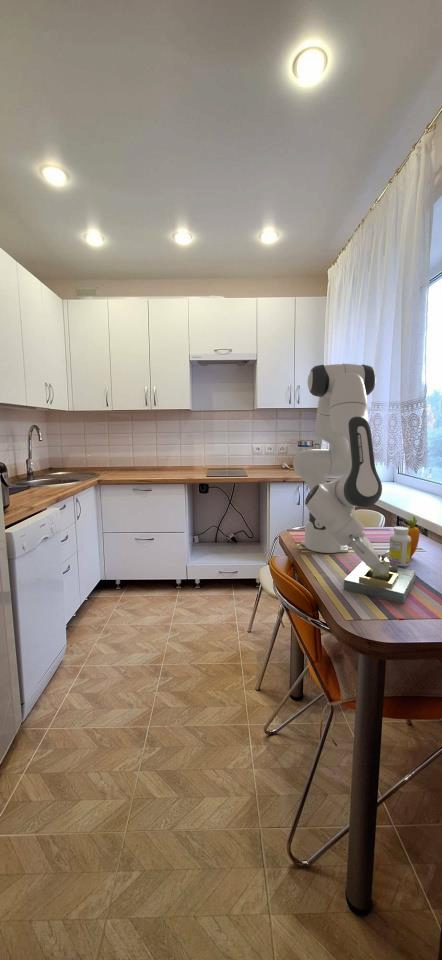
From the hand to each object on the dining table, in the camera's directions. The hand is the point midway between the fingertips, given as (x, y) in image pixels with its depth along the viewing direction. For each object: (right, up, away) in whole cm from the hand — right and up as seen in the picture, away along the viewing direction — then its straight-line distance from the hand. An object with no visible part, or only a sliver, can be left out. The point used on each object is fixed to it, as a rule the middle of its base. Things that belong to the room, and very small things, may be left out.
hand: (381, 565), depth 112 cm
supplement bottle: (+15, -4, +22) cm, 27 cm away
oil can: (-1, -7, +1) cm, 7 cm away
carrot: (+22, -3, +29) cm, 37 cm away
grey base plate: (+2, -6, +4) cm, 8 cm away
